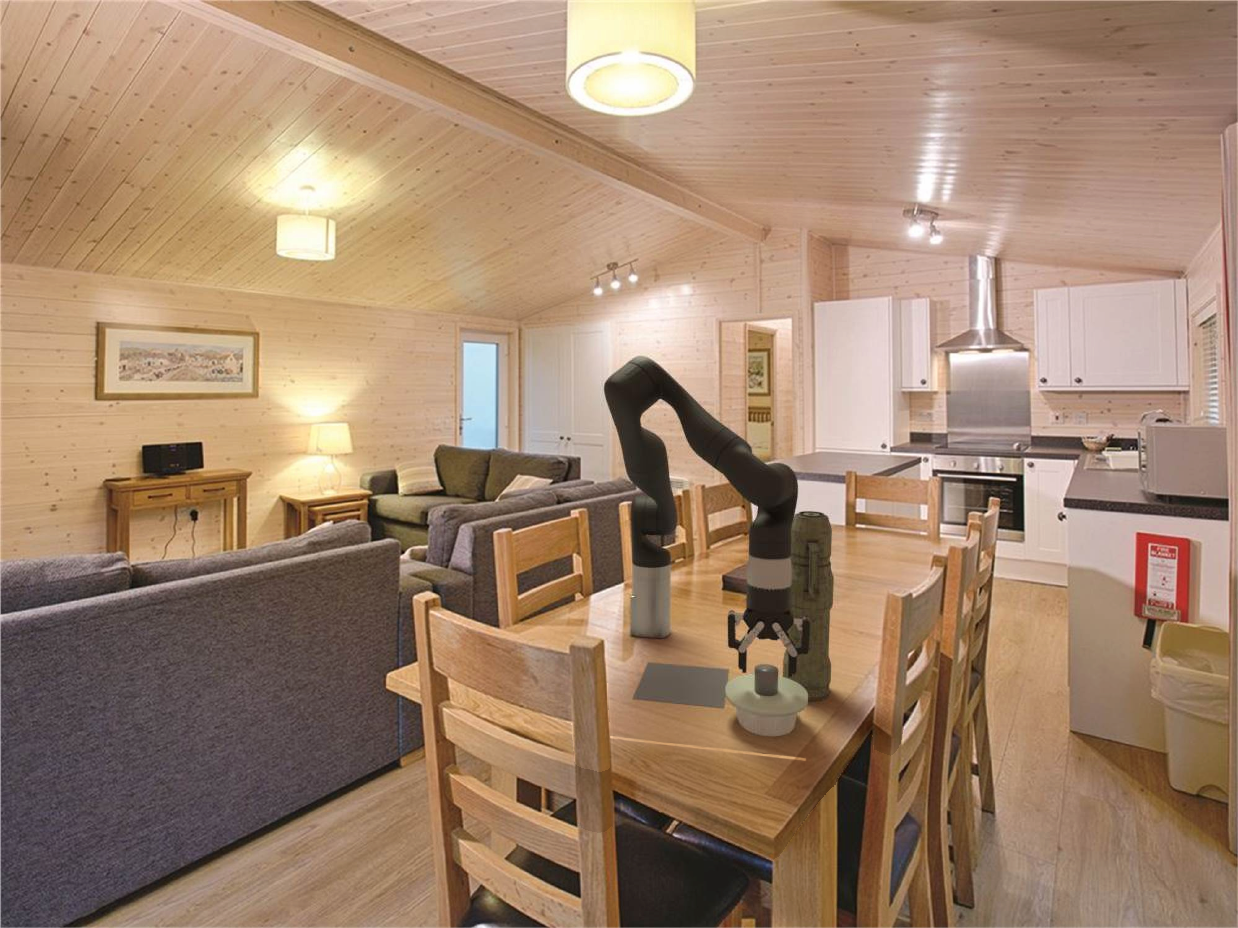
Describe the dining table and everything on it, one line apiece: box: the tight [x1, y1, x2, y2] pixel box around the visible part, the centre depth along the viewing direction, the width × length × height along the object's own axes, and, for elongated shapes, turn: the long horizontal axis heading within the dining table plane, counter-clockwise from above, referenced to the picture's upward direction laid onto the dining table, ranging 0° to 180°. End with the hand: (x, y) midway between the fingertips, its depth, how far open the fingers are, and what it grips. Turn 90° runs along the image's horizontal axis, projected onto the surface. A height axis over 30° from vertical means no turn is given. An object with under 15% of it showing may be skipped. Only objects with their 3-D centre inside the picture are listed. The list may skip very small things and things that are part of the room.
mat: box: [632, 661, 730, 709], centre depth 129 cm, size 17×17×1 cm
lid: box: [725, 663, 809, 716], centre depth 113 cm, size 14×14×5 cm
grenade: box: [782, 510, 835, 702], centre depth 124 cm, size 9×12×35 cm
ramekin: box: [735, 707, 798, 737], centre depth 113 cm, size 11×11×5 cm
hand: (767, 673), depth 112 cm, fingers open, 7 cm apart
